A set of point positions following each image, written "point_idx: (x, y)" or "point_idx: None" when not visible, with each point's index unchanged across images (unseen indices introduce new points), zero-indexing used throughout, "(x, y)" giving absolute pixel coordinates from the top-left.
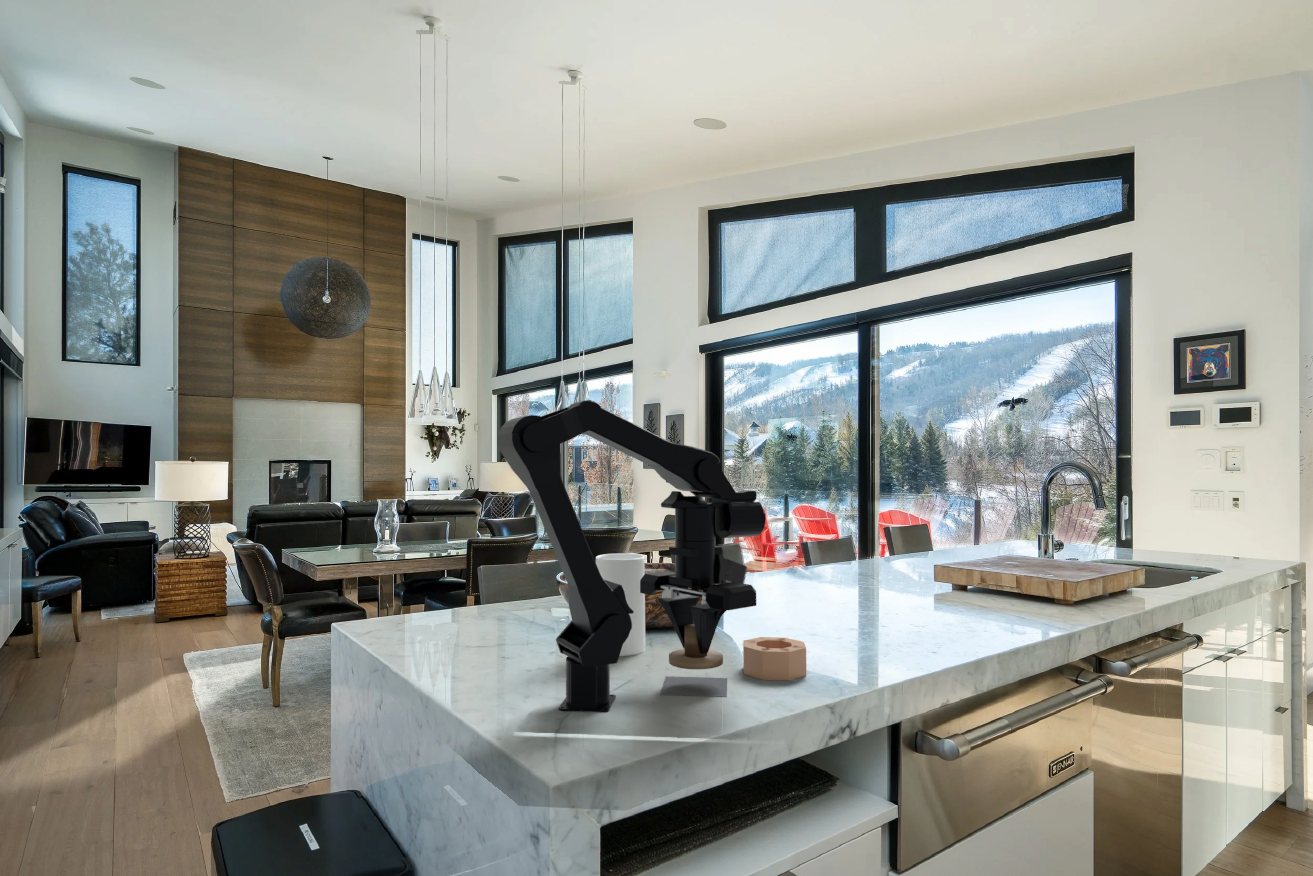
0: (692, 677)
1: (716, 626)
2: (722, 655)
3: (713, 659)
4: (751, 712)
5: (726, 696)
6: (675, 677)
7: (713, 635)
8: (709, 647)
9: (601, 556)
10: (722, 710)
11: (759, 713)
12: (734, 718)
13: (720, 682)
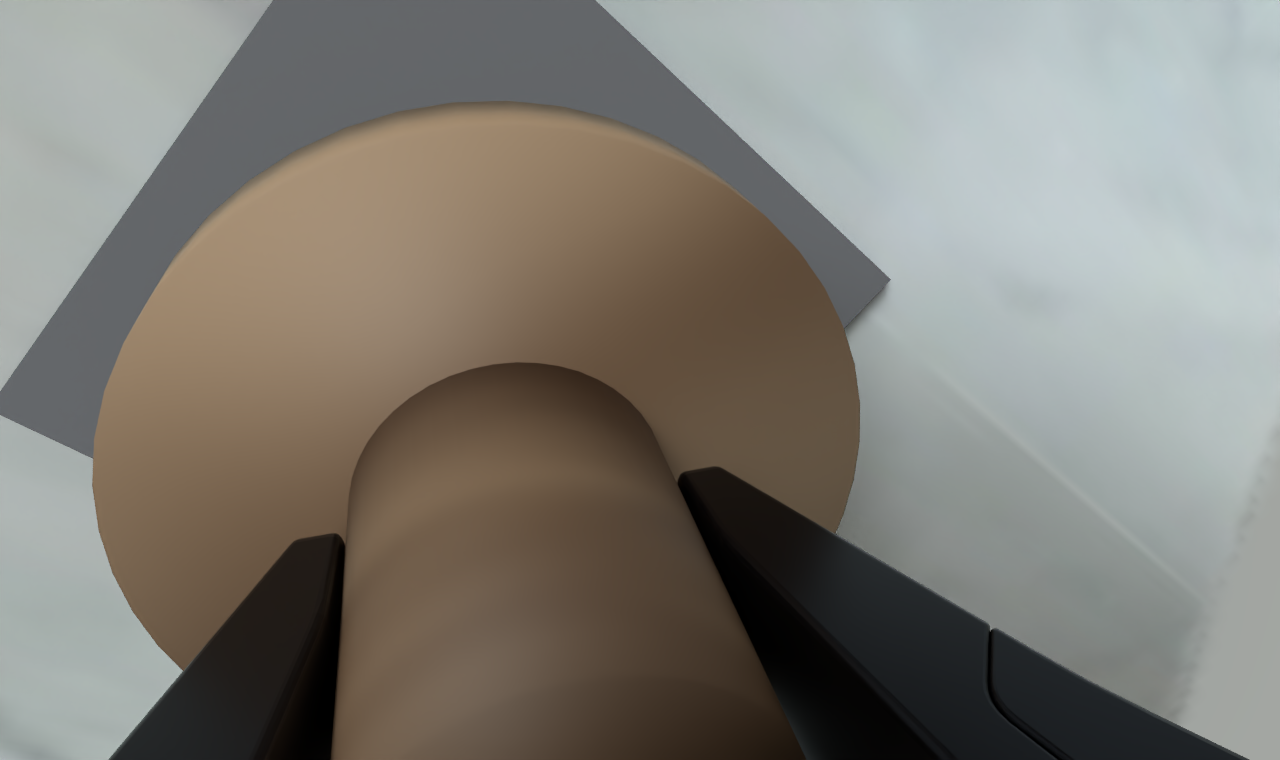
0: (168, 188)
1: (1067, 679)
2: (761, 222)
3: (828, 435)
4: (1169, 287)
5: (888, 280)
6: (83, 347)
7: (910, 584)
8: (760, 493)
9: None
10: (1001, 425)
11: (1222, 254)
12: (1141, 442)
13: (520, 39)
